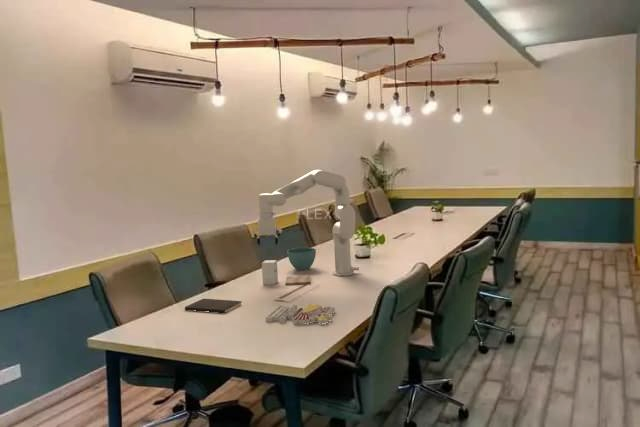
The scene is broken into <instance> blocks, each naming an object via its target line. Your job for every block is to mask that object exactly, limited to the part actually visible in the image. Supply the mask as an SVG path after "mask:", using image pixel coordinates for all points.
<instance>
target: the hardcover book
mask: <svg viewBox="0 0 640 427" xmlns="http://www.w3.org/2000/svg"><path fill="white" fill-rule="evenodd" d="M239 305H240V306H241V305H242V300H229V299H217V298H216V299H213V298H201V299H199V300H197V301H194V302H193V303H191V304H188V305H186V306H185V307H184V311H185V310H196V311H195V312H197V311H209V312H208V313H210V312H218V313H217V314H222V313H225V312H227V311H228V312H230V311H232V310H234V309H236V308H238V307H239ZM237 306H238V307H237ZM235 307H236V308H235ZM233 308H234V309H233ZM231 309H232V310H231ZM229 310H230V311H229ZM228 312H227V313H228ZM225 314H226V313H225Z"/></svg>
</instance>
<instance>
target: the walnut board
mask: <svg viewBox="0 0 640 427" xmlns="http://www.w3.org/2000/svg"><path fill="white" fill-rule="evenodd" d="M294 285H295V286H296V285H297V286H298V285H300V286H301V285H311V275H297V276H296V275H295V276H293V275H291V276H286V279H285V286H294Z"/></svg>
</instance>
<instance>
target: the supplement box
mask: <svg viewBox="0 0 640 427" xmlns="http://www.w3.org/2000/svg"><path fill="white" fill-rule="evenodd" d="M261 272H262V275H261V276H262V284H263V285H275V284H276V283H277V282H279V277H278V275H279V274H278V273H279V272H278V260H277V259H274V260H272V259H271V260H270V259H269V260H268V259H267V260H266V259H265V260H264V261H263V262H261Z"/></svg>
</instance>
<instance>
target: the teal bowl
mask: <svg viewBox="0 0 640 427" xmlns="http://www.w3.org/2000/svg"><path fill="white" fill-rule="evenodd" d="M286 252H287V258H288V260H289V262H290V264H291V266H292V267H293V268H294V270H296V271H299V272H300V271H301V272H302V271H308V270H309V269H311V267H312V266H313V264H314V262H315V259H316V255H317V249H316V248H312V247H299V248H298V247H297V248H296V247H295V248H291V249H288V250H287V251H286Z"/></svg>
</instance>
